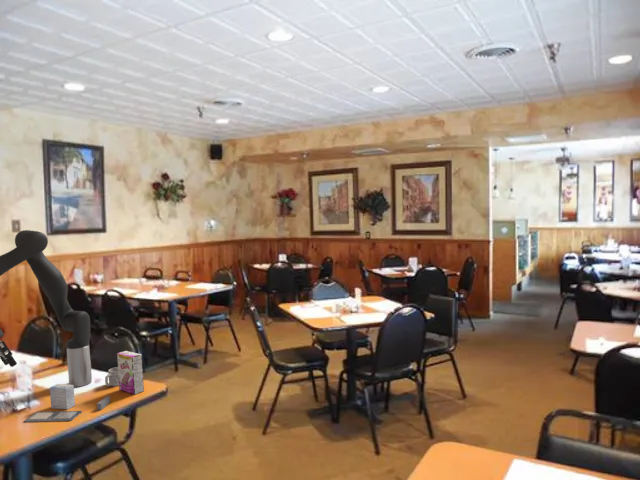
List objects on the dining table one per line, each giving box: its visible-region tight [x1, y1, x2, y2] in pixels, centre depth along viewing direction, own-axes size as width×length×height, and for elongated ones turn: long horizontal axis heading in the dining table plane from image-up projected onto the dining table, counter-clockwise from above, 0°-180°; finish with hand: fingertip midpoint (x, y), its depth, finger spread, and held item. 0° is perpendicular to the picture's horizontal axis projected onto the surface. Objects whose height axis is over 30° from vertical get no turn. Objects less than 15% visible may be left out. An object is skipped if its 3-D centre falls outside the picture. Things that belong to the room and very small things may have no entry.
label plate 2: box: [47, 410, 83, 422], centre depth 188 cm, size 8×9×1 cm
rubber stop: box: [96, 395, 111, 411], centre depth 197 cm, size 8×2×2 cm, turn 178°
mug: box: [104, 366, 119, 387], centre depth 221 cm, size 10×7×7 cm, turn 160°
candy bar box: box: [116, 350, 145, 395], centre depth 213 cm, size 11×5×16 cm, turn 56°
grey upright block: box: [49, 383, 76, 410], centre depth 198 cm, size 8×4×9 cm, turn 74°
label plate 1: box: [23, 410, 60, 423], centre depth 188 cm, size 8×9×1 cm
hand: (11, 364), depth 190 cm, fingers open, 8 cm apart
